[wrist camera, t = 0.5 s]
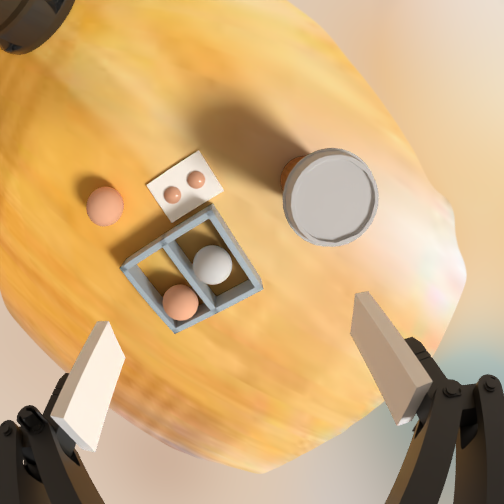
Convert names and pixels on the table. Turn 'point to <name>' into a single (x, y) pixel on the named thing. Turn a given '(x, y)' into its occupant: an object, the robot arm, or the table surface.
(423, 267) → the table surface
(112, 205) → the terracotta ball
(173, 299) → the terracotta ball
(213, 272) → the ball grey
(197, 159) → the tile
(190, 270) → the rack
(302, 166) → the disposable coffee cup
